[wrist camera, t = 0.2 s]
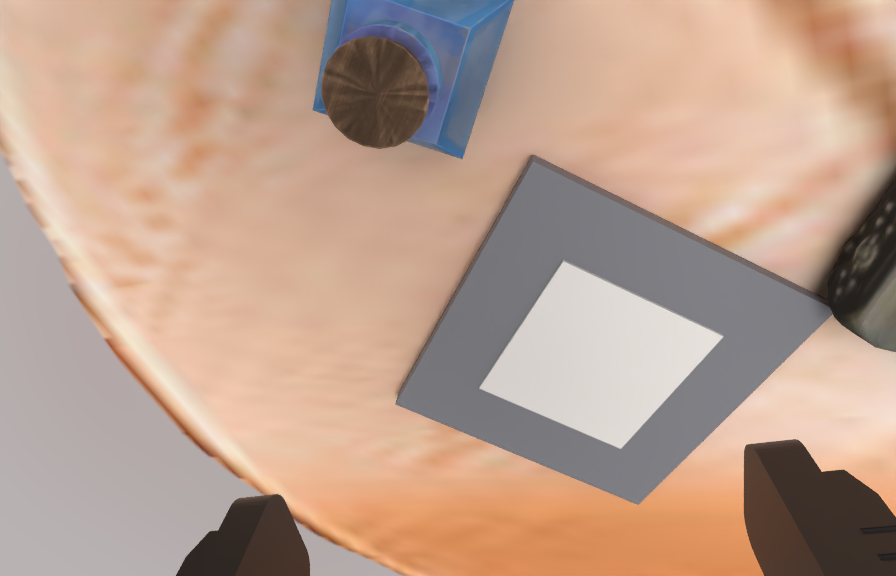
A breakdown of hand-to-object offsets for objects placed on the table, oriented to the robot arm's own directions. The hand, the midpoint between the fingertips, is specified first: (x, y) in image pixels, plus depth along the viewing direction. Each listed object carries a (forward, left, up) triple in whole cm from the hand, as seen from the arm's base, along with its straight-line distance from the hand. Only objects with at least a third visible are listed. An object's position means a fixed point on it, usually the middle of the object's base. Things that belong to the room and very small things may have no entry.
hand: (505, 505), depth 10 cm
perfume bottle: (-2, -6, -23) cm, 23 cm away
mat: (+10, +10, -22) cm, 26 cm away
